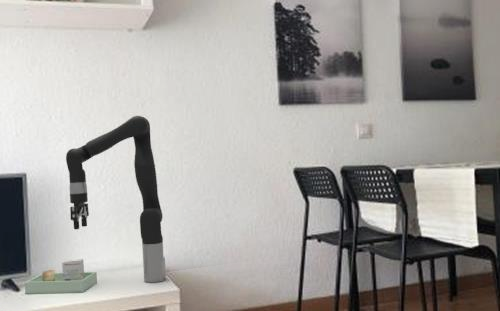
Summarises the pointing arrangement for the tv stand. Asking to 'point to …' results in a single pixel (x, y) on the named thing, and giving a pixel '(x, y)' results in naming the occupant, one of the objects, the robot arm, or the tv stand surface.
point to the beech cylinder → (48, 275)
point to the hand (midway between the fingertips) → (80, 227)
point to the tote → (60, 284)
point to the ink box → (73, 270)
